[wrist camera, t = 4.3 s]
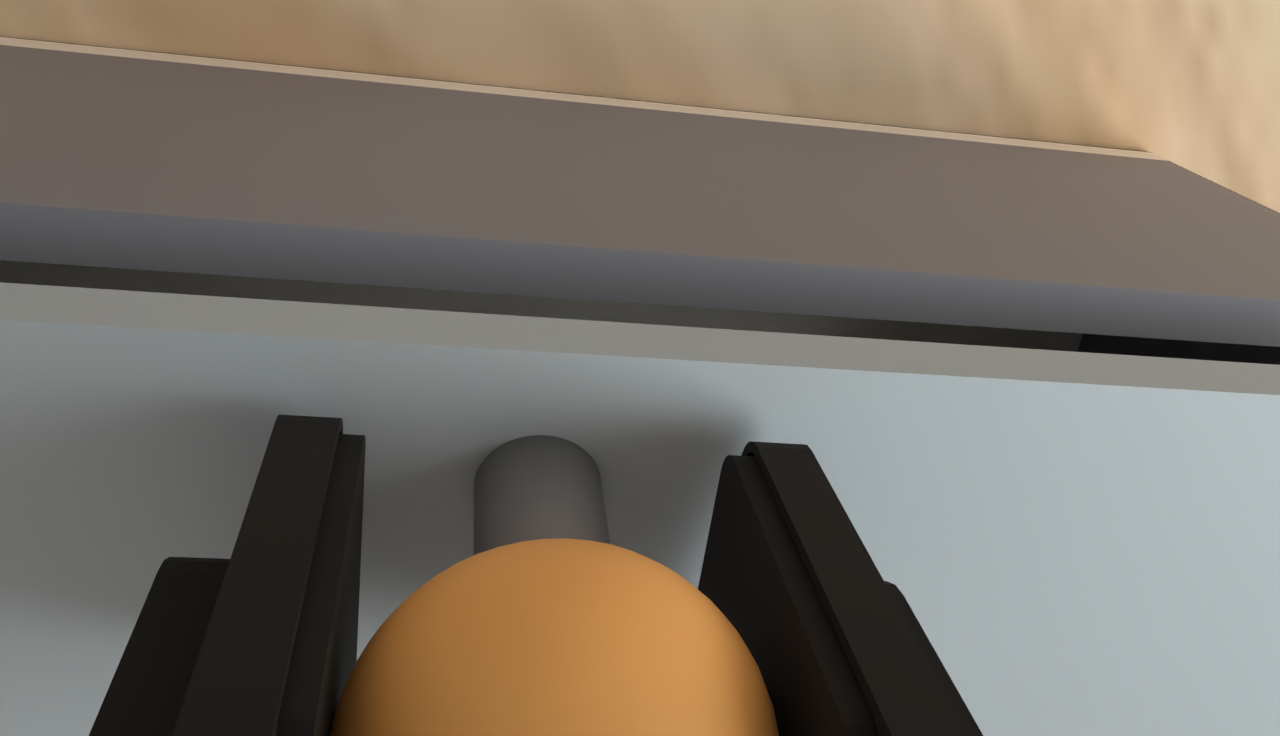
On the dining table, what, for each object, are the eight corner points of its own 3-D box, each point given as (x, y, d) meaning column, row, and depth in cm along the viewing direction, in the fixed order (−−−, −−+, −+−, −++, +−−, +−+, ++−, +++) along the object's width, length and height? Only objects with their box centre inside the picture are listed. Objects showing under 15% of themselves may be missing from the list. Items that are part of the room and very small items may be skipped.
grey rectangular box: (1150, 152, 21) (1500, 316, 14) (977, 690, 26) (1165, 1007, 19) (-284, 8, 17) (-844, 138, 10) (-142, 683, 22) (-433, 1088, 15)
